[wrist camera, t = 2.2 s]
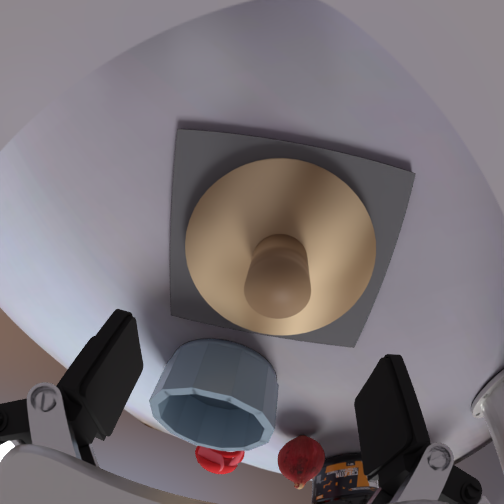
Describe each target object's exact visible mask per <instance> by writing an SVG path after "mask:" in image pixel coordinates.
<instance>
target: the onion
mask: <svg viewBox="0 0 504 504" xmlns="http://www.w3.org/2000/svg"><path fill="white" fill-rule="evenodd" d="M324 461H325V453H324V450H323V448H322V447H321V445H320V444H319V443H318V442H317V441H316V440H314V439H312V438H310V437H307V436H305V435H300V436H298V437H296V438H294V439H293V440H291V441H289V442H288V443H286V444H285V445H284V446H283V448H282V449H281V450H280V452H279V454H278V466H279V469H280V471H281V473H282V474H283V475H284V476H285V477H286V478H288V479H289V480H291V481H293V482H294V483H295V486H294V487H296V488H297V489H301V488H303V487H304V485H305V483H306V482H307V481H309V480H310V479H312V478H314V477H315V476H316V475H317V474H318V473H319V472H320V471H321V469H322V467H323V465H324Z"/></svg>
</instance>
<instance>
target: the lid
mask: <svg viewBox="0 0 504 504" xmlns="http://www.w3.org/2000/svg"><path fill="white" fill-rule="evenodd" d="M185 254H186V260H187V266H188V269H189V272H190V275H191V278H192V280H193V282H194V284H195V286H196V288H197V289H198V291H199V293H200V294H201V296H202V297H203V298H204V299H205V300H206V302H207V303H208V304H209V305H210V306H211V307H212V308H213V309H214V310H215V311H216V312H218V313H219V314H220V315H221V316H223V317H224V318H226V319H227V320H229V321H231V322H232V323H234V324H236V325H238V326H240V327H243V328H245V329H248V330H251V331H254V332H258V333H263V334H269V335H295V334H301V333H306V332H310V331H313V330H316V329H319V328H321V327H324V326H326V325H328V324H330V323H331V322H333V321H335V320H336V319H338V318H339V317H341V316H342V315H343V314H345V313H346V312H347V311H348V310H349V309H350V308H351V307H352V306H353V305H354V304H355V303H356V302H357V300H358V299H359V298H360V297H361V295H362V294H363V292H364V290H365V289H366V287H367V285H368V283H369V280H370V278H371V276H372V272H373V269H374V265H375V258H376V239H375V233H374V228H373V225H372V222H371V219H370V216H369V214H368V212H367V210H366V208H365V206H364V205H363V203H362V202H361V200H360V199H359V197H358V196H357V195H356V194H355V193H354V192H353V190H352V189H351V188H350V187H349V186H348V185H347V184H346V183H344V182H343V181H342V180H341V179H340V178H338V177H337V176H336V175H334V174H333V173H331V172H329V171H328V170H326V169H324V168H322V167H320V166H317V165H315V164H312V163H309V162H305V161H302V160H297V159H289V158H270V159H264V160H258V161H254V162H251V163H248V164H245V165H243V166H240V167H238V168H236V169H234V170H232V171H231V172H229V173H228V174H226V175H225V176H223V177H222V178H220V179H219V180H218V181H217V182H215V183H214V184H213V185H212V186H211V187H210V188H209V189H208V190H207V191H206V192H205V194H204V195H203V196H202V197H201V199H200V200H199V202H198V203H197V205H196V207H195V208H194V210H193V213H192V215H191V218H190V220H189V224H188V227H187V231H186V240H185Z"/></svg>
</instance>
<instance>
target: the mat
mask: <svg viewBox="0 0 504 504" xmlns="http://www.w3.org/2000/svg"><path fill="white" fill-rule="evenodd" d="M270 158H289V159H297V160H302V161H305V162H309V163H312V164H315V165H317V166H320V167H322V168H324V169H326V170H328V171H329V172H331V173H333V174H334V175H336V176H337V177H338V178H340V179H341V180H342V181H343V182H344V183H346V184H347V185H348V186H349V187H350V188H351V189H352V190H353V192H354V193H355V194H356V195H357V196H358V197H359V199H360V200H361V202H362V203H363V205H364V206H365V208H366V210H367V212H368V214H369V216H370V219H371V222H372V225H373V228H374V233H375V239H376V258H375V265H374V269H373V272H372V276H371V278H370V280H369V283H368V285H367V287H366V289H365V290H364V292H363V294H362V295H361V297H360V298H359V299H358V300H357V302H356V303H355V304H354V305H353V306H352V307H351V308H350V309H349V310H348V311H347V312H346V313H345V314H343V315H342V316H341V317H339V318H338V319H336V320H335V321H333V322H331V323H330V324H328V325H326V326H324V327H321V328H319V329H316V330H313V331H310V332H306V333H301V334H295V335H269V334H263V333H258V332H254V331H251V330H248V329H245V328H243V327H240V326H238V325H236V324H234V323H232V322H231V321H229V320H227V319H226V318H224V317H223V316H221V315H220V314H219V313H218V312H216V311H215V310H214V309H213V308H212V307H211V306H210V305H209V304H208V303H207V302H206V300H205V299H204V298H203V297H202V296H201V294H200V293H199V291H198V289H197V288H196V286H195V284H194V282H193V280H192V278H191V275H190V272H189V269H188V266H187V260H186V254H185V240H186V231H187V227H188V224H189V220H190V218H191V215H192V213H193V210H194V208H195V207H196V205H197V203H198V202H199V200H200V199H201V197H202V196H203V195H204V194H205V192H206V191H207V190H208V189H209V188H210V187H211V186H212V185H213V184H214V183H215V182H217V181H218V180H219V179H220V178H222V177H223V176H225V175H226V174H228V173H229V172H231V171H232V170H234V169H236V168H238V167H240V166H243V165H245V164H248V163H251V162H254V161H258V160H264V159H270ZM414 178H415V173H413V172H410V171H407V170H403V169H400V168H397V167H394V166H390V165H387V164H383V163H380V162H376V161H373V160H369V159H365V158H361V157H357V156H354V155H349V154H345V153H341V152H337V151H332V150H328V149H323V148H319V147H314V146H309V145H304V144H298V143H293V142H287V141H282V140H275V139H269V138H263V137H256V136H248V135H240V134H232V133H223V132H213V131H202V130H189V129H177V139H176V149H175V161H174V174H173V189H172V208H171V236H170V301H171V315H172V316H176V317H180V318H184V319H188V320H193V321H197V322H202V323H206V324H211V325H215V326H220V327H225V328H230V329H235V330H240V331H245V332H250V333H256V334H261V335H267V336H273V337H279V338H285V339H291V340H298V341H305V342H312V343H319V344H327V345H335V346H344V347H353V348H354V347H355V345H356V343H357V341H358V338H359V336H360V334H361V332H362V330H363V328H364V325H365V323H366V321H367V319H368V316H369V314H370V312H371V309H372V307H373V304H374V302H375V300H376V297H377V295H378V292H379V290H380V287H381V285H382V282H383V279H384V277H385V274H386V271H387V269H388V266H389V263H390V260H391V257H392V254H393V251H394V248H395V245H396V242H397V239H398V236H399V233H400V230H401V227H402V223H403V220H404V216H405V213H406V209H407V206H408V202H409V198H410V194H411V191H412V187H413V182H414Z"/></svg>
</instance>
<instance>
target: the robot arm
mask: <svg viewBox="0 0 504 504" xmlns="http://www.w3.org/2000/svg"><path fill="white" fill-rule="evenodd" d="M142 370H143V360H142V355H141V349H140V343H139V337H138V330H137V324H136V319H135V318H134V317H133V316H132V314H131V313H130V312H127V311H123V310H120V309H116V310H115V311H114V312H113V314H112V315H111V316H110V317H109V319H108V320H107V321H106V323H105V324H104V325H103V326H102V328H101V329H100V330H99V332H98V333H97V334H96V336H94V337H92V338H91V339H90V340H89V341H88V342H87V344H86V345H85V346H84V348H83V349H82V351H81V352H80V353H79V355H78V356H77V357H76V359H75V360H74V362H73V363H72V364H71V366H70V367H69V369H68V370H67V371H66V373H65V374H64V376H63V377H62V378H61V380H60V382H59V383H58V384H57V386H55V385H53V384H51V383H39V384H37V385H35V386H34V387H32V388H31V390H30V391H29V393H28V395H27V399H23V400H17V401H12V402H8V403H2V404H0V504H216V503H211V502H205V501H201V500H196V499H191V498H187V497H183V496H179V495H175V494H171V493H168V492H164V491H161V490H158V489H154V488H151V487H148V486H145V485H142V484H139V483H136V482H134V481H131V480H128V479H126V478H123V477H120V476H117V475H115V474H113V473H110V472H108V471H105V470H103V469H101V468H100V467H99V465H98V462H97V459H96V457H95V454H94V451H93V448H92V445H91V443H92V442H93V440H94V438H95V437H96V438H98V439H101V440H103V441H104V440H105V438H106V436H110V435H111V434H112V432H113V430H114V428H115V425H116V423H117V421H118V419H119V417H120V415H121V413H122V411H123V409H124V407H125V405H126V403H127V401H128V398H129V396H130V394H131V392H132V390H133V388H134V386H135V384H136V382H137V380H138V378H139V376H140V374H141V372H142ZM354 406H355V413H356V419H357V426H358V433H359V440H360V447H361V455H362V464H363V472H364V475H366V476H367V480H368V481H374V480H379V485H380V486H379V488H378V489H377V490H376V492H375V493H374V495H373V496H372V497H371V499H370V500H369V501H368V503H367V504H490V502H489V501H488V500H487V498H486V497H485V496H483V497H481V494H482V488H481V484H480V483H479V481H478V480H477V479H476V478H474V477H472V476H471V475H469V474H467V473H466V472H464V471H462V470H461V469H459V468H458V467H456V466H454V465H453V462H454V457H453V453H452V451H451V449H450V448H449V447H448V446H447V445H445V444H443V443H433V444H431V443H430V438H429V435H428V431H427V428H426V425H425V421H424V418H423V415H422V412H421V409H420V406H419V403H418V400H417V397H416V394H415V391H414V388H413V385H412V382H411V380H410V377H409V374H408V371H407V369H406V366H405V364H404V361H403V358H402V356H401V355H392V354H387V355H385V357H384V358H381V359H380V360H379V362H378V364H377V366H376V367H375V369H374V370H373V372H372V374H371V375H370V377H369V379H368V380H367V382H366V383H365V385H364V386H363V388H362V389H361V391H360V393H359V394H358V396H357V397H356V399H355V403H354ZM471 412H472V415H473V417H475V418H483V417H484V418H485V421H486V423H487V426H488V428H489V431H490V434H491V436H492V439H493V442H494V445H495V448H496V451H497V454H498V457H499V460H500V463H501V467H502V470H503V473H504V369H503V370H502V371H501V372H500V373H499V374H497V375H496V376H495V377H494V378H493V379H492V380H491V381H490V382H489V383H488V384H487V385H486V386H485V387H484V388H483V389H482V390H481V392H480V393H479V394H478V396H477V397H476V398H475V400H474V402H473V404H472V406H471Z"/></svg>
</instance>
